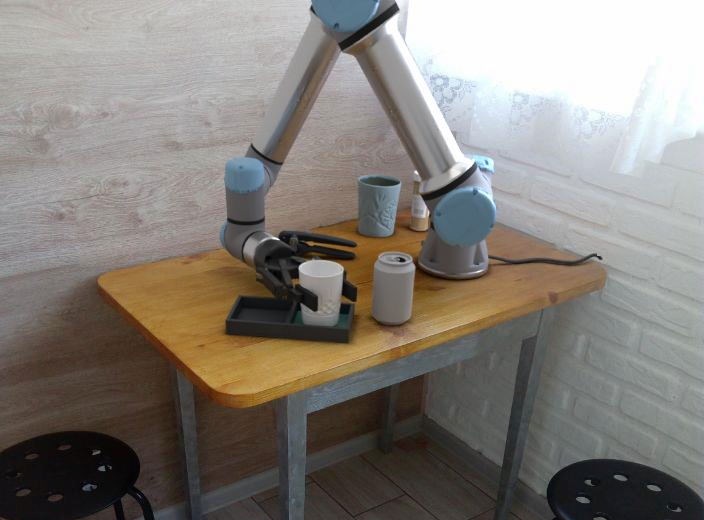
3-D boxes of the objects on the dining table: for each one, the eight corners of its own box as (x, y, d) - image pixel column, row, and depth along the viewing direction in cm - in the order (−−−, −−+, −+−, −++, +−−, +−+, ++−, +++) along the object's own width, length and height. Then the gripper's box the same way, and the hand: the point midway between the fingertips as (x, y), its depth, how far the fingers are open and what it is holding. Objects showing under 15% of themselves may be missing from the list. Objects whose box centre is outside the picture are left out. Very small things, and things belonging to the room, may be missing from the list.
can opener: (274, 258, 168) (274, 233, 165) (280, 247, 174) (280, 222, 170) (355, 264, 167) (356, 239, 163) (358, 253, 172) (359, 228, 169)
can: (416, 324, 143) (422, 262, 136) (378, 328, 141) (382, 265, 134) (402, 308, 149) (407, 248, 142) (366, 312, 147) (369, 250, 140)
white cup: (336, 332, 137) (338, 278, 131) (293, 327, 138) (293, 273, 132) (345, 314, 143) (347, 262, 137) (304, 309, 144) (304, 257, 138)
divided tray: (354, 316, 145) (354, 303, 144) (348, 343, 136) (349, 329, 135) (239, 308, 147) (238, 294, 145) (226, 334, 138) (225, 320, 136)
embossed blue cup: (350, 226, 187) (352, 175, 180) (388, 223, 190) (392, 173, 183) (363, 240, 180) (366, 187, 172) (403, 236, 182) (408, 184, 175)
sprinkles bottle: (431, 228, 188) (437, 171, 180) (421, 233, 185) (427, 175, 177) (415, 224, 190) (420, 167, 182) (405, 229, 187) (410, 171, 179)
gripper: (314, 267, 156) (381, 307, 141) (224, 286, 146) (285, 332, 131) (315, 230, 151) (384, 268, 136) (222, 247, 141) (285, 290, 127)
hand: (336, 299), depth 134 cm, fingers closed on white cup, 7 cm apart
